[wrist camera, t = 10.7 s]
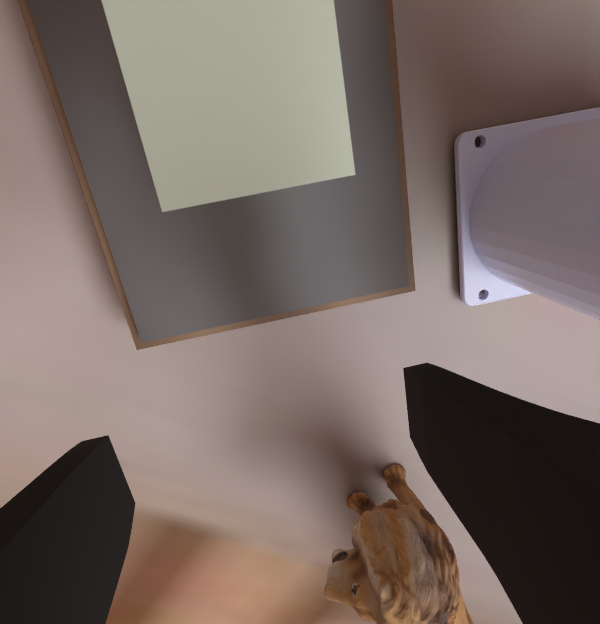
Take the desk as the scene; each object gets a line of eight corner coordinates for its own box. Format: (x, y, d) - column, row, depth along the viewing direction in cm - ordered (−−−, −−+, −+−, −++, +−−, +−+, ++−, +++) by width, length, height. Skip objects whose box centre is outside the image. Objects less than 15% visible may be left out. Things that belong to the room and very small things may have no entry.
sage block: (295, 17, 14) (325, -65, 9) (319, 174, 15) (355, 174, 11) (144, 42, 13) (93, -30, 9) (186, 200, 15) (162, 212, 10)
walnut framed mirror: (356, -157, 14) (379, -222, 12) (397, 278, 20) (419, 293, 17) (3, -113, 13) (-48, -174, 11) (147, 331, 19) (134, 354, 16)
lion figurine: (290, 469, 22) (321, 646, 14) (372, 416, 22) (453, 566, 14) (411, 608, 27) (487, 802, 19) (479, 568, 27) (587, 746, 19)
